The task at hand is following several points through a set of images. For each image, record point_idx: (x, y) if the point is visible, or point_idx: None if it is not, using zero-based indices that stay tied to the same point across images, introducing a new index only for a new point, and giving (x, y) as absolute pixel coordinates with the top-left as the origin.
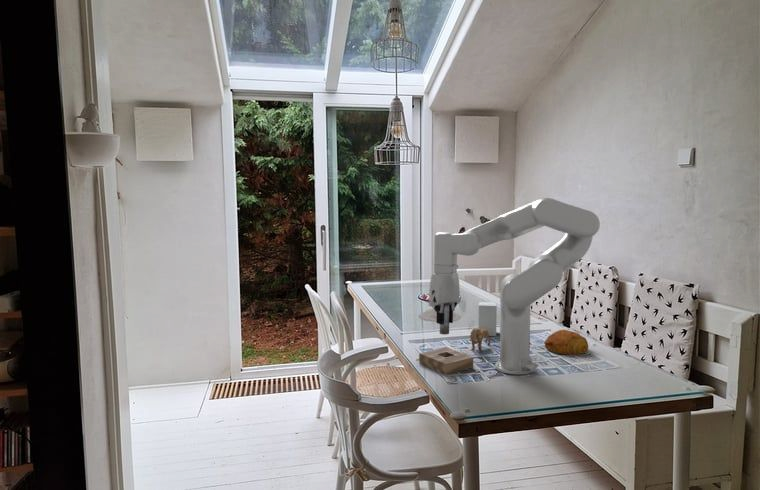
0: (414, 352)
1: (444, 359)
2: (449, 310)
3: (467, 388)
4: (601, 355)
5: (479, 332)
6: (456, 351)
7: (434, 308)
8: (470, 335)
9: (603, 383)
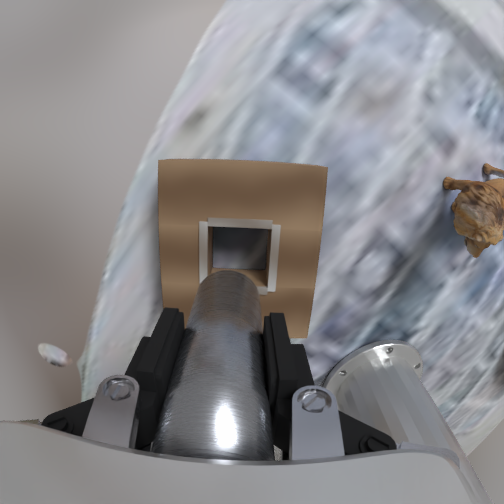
0: (251, 40)
1: (193, 294)
2: (273, 428)
3: None
4: None
5: (485, 246)
6: (315, 248)
7: (71, 417)
8: (470, 197)
9: None
